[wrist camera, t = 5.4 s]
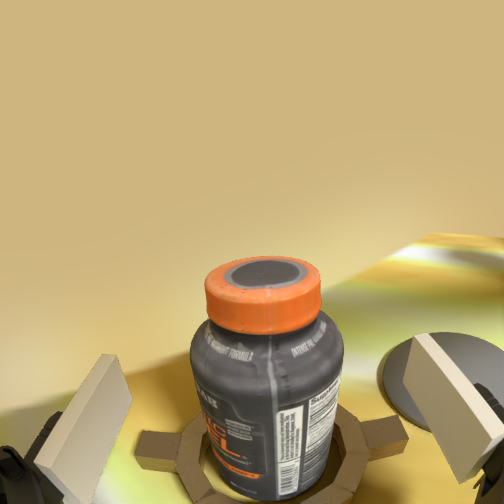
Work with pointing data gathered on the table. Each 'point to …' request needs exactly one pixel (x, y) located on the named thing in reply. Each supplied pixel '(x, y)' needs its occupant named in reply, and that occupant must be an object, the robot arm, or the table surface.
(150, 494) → the table surface
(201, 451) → the collar
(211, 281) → the pill bottle
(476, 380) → the coaster
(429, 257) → the table surface
